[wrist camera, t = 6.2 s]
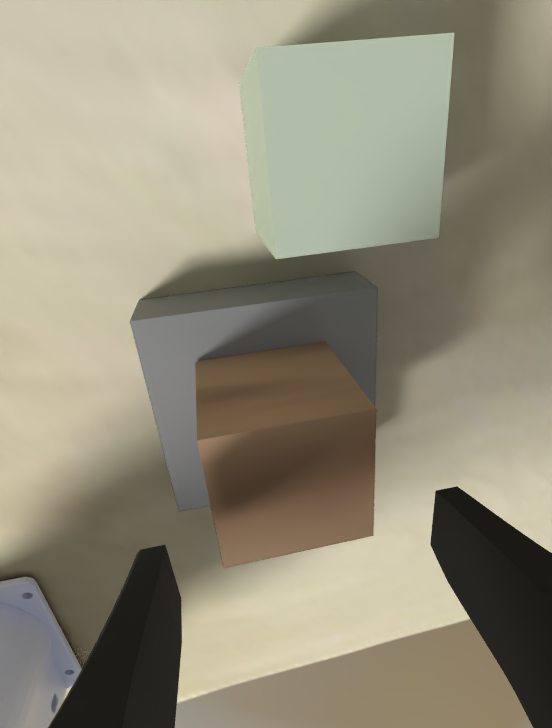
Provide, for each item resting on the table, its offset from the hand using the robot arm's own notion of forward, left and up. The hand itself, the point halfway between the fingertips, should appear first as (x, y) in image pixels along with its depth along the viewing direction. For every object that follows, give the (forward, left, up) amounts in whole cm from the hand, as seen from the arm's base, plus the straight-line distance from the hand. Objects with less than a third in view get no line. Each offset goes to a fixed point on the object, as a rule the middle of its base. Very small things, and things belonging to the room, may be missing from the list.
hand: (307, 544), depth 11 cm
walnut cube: (0, 0, -7) cm, 7 cm away
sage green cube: (+9, -3, -9) cm, 13 cm away
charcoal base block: (0, 0, -10) cm, 10 cm away
